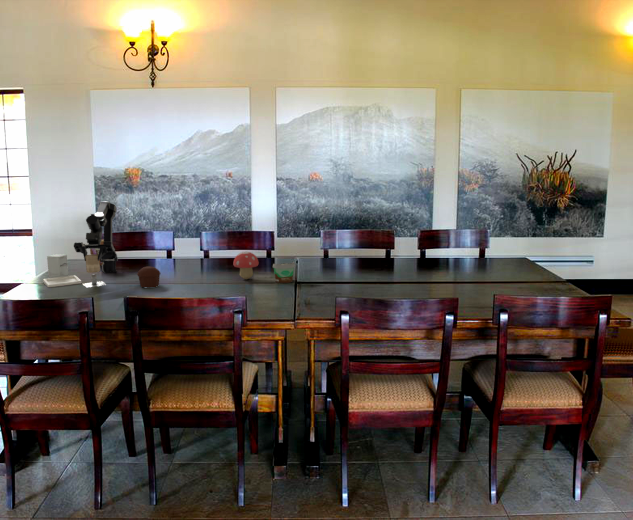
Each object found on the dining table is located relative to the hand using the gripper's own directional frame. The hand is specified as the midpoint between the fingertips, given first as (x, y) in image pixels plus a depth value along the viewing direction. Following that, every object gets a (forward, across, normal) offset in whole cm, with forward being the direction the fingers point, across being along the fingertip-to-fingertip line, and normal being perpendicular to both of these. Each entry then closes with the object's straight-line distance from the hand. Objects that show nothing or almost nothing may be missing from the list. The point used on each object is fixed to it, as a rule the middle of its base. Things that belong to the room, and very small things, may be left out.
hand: (91, 260), depth 292 cm
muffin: (+13, +29, +7) cm, 32 cm away
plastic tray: (+4, -18, +15) cm, 24 cm away
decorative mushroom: (+6, +78, +13) cm, 79 cm away
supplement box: (-6, -24, +26) cm, 36 cm away
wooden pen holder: (+3, 0, +5) cm, 6 cm away
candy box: (-31, -12, +50) cm, 60 cm away
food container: (+13, +98, +6) cm, 99 cm away
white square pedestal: (+8, 0, +10) cm, 13 cm away
